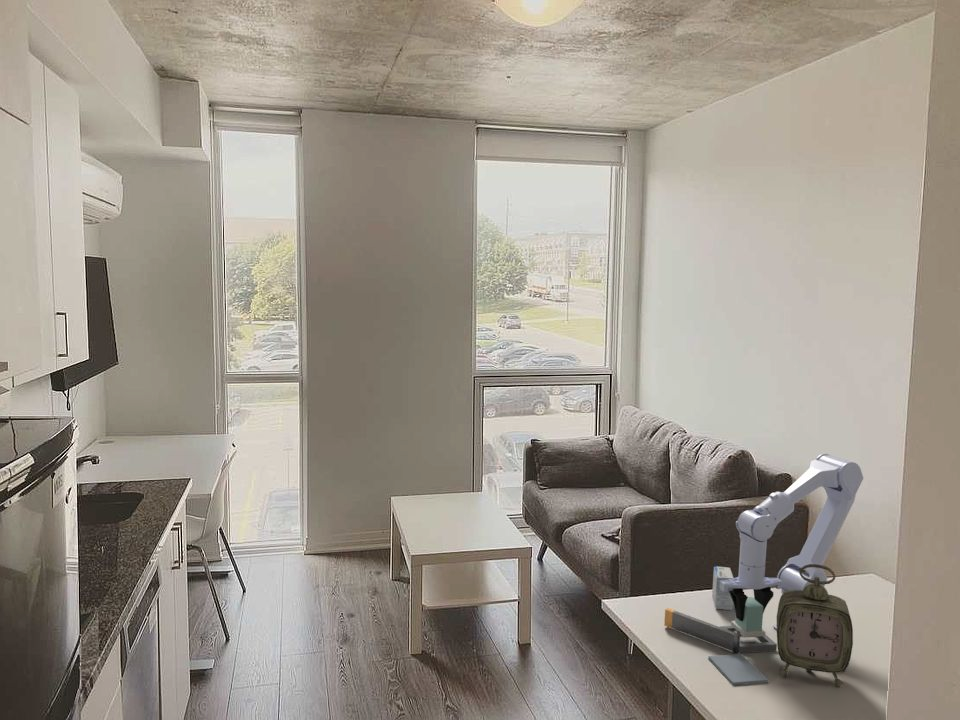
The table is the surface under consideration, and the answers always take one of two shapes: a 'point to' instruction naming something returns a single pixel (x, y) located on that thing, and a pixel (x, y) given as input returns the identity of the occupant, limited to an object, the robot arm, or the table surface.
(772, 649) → the dock
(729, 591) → the robot arm
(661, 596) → the table surface
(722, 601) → the medicine box
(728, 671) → the mat
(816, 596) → the tabletop clock
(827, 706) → the table surface
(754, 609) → the plug
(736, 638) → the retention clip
